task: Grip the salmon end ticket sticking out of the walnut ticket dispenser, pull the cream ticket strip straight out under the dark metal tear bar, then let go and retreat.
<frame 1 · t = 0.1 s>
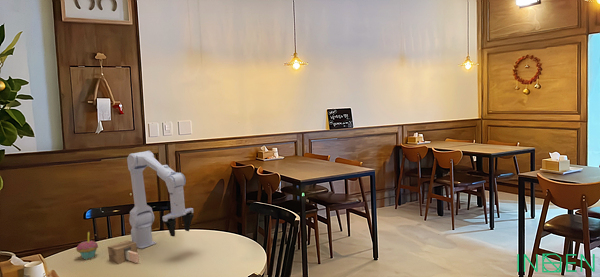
hand: (180, 233, 189), 10 cm above the table, tool pointing down, fingers open, 7 cm apart
dispenser: (126, 259, 189), on the table
ticket strip: (128, 255, 187), point 2 cm above the table, slide at 0.0 cm
cupcake: (88, 257, 194), on the table
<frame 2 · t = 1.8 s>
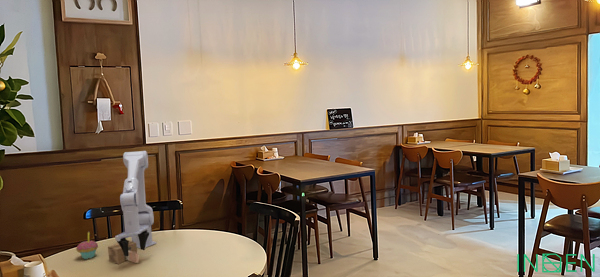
hand: (134, 252, 184), 4 cm above the table, tool pointing down, fingers open, 7 cm apart
nothing on the table moved.
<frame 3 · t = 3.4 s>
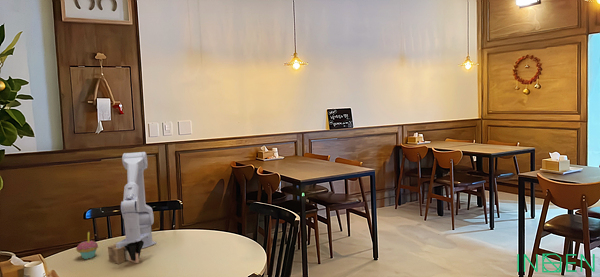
hand: (135, 259, 185), 1 cm above the table, tool pointing down, fingers closed on ticket strip
ticket strip: (128, 255, 187), point 2 cm above the table, slide at 0.0 cm, touching gripper
everything else where it was.
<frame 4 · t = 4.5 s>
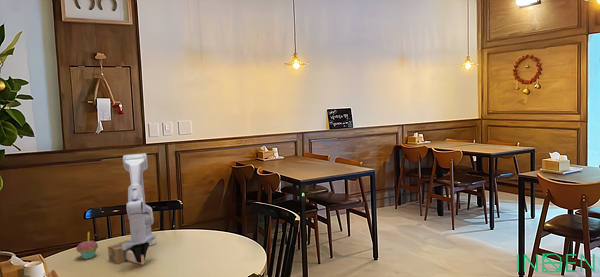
hand: (140, 261, 182), 1 cm above the table, tool pointing down, fingers closed on ticket strip
ticket strip: (134, 257, 185), point 2 cm above the table, slide at 3.9 cm, touching gripper
everything else where it was.
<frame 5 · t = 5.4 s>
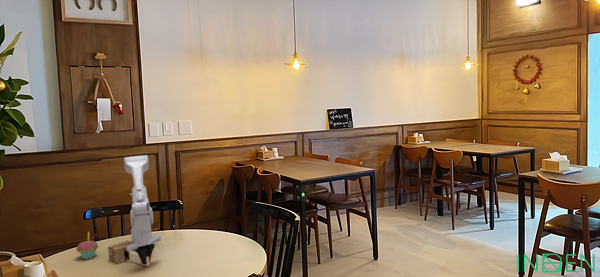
hand: (146, 262, 180), 1 cm above the table, tool pointing down, fingers closed on ticket strip
ticket strip: (139, 258, 183), point 2 cm above the table, slide at 7.5 cm, touching gripper
everything else where it was.
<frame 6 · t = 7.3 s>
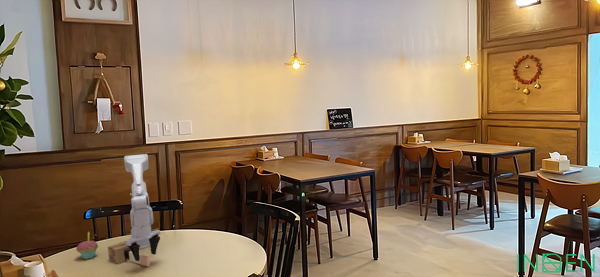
hand: (145, 257, 180), 4 cm above the table, tool pointing down, fingers open, 7 cm apart
ticket strip: (139, 258, 183), point 2 cm above the table, slide at 7.5 cm
everything else where it was.
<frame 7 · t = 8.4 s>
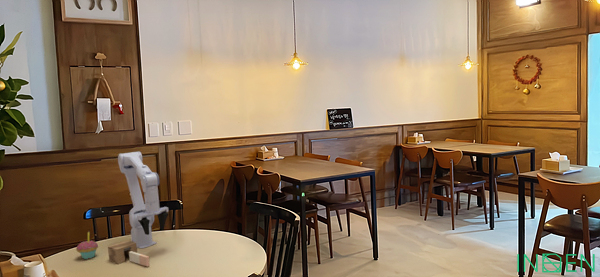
hand: (154, 231, 193), 10 cm above the table, tool pointing down, fingers open, 7 cm apart
nothing on the table moved.
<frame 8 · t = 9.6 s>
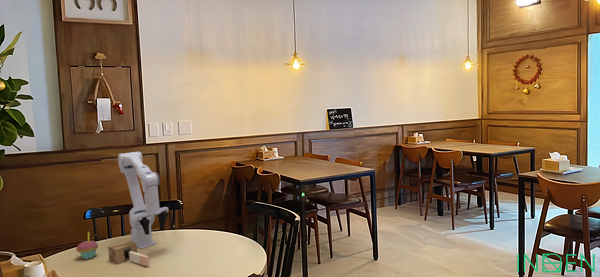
hand: (154, 231, 193), 10 cm above the table, tool pointing down, fingers open, 7 cm apart
nothing on the table moved.
at the end: ticket strip slide at 7.5 cm; the gripper is holding nothing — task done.
